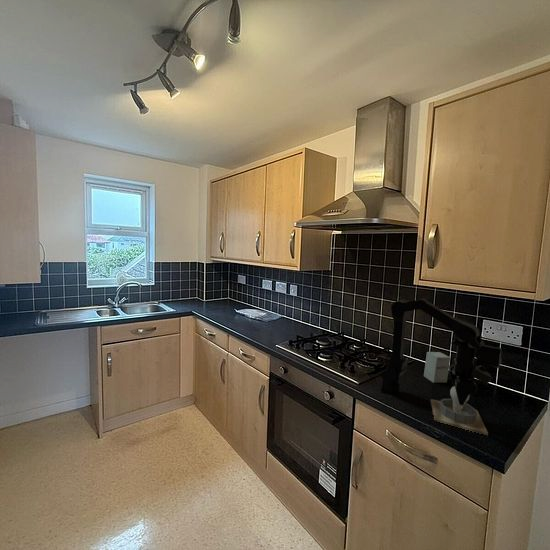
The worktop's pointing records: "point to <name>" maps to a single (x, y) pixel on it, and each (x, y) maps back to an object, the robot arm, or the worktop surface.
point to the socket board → (458, 416)
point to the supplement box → (436, 367)
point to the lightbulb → (456, 400)
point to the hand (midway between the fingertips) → (458, 399)
